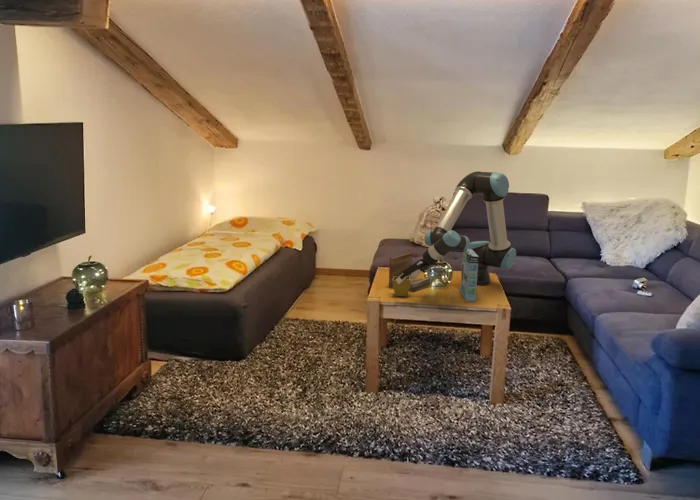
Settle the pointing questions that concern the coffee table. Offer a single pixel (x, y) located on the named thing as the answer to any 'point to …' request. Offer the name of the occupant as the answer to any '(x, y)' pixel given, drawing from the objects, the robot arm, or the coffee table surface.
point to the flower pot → (401, 286)
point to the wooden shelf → (402, 264)
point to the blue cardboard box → (469, 275)
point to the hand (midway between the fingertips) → (404, 279)
